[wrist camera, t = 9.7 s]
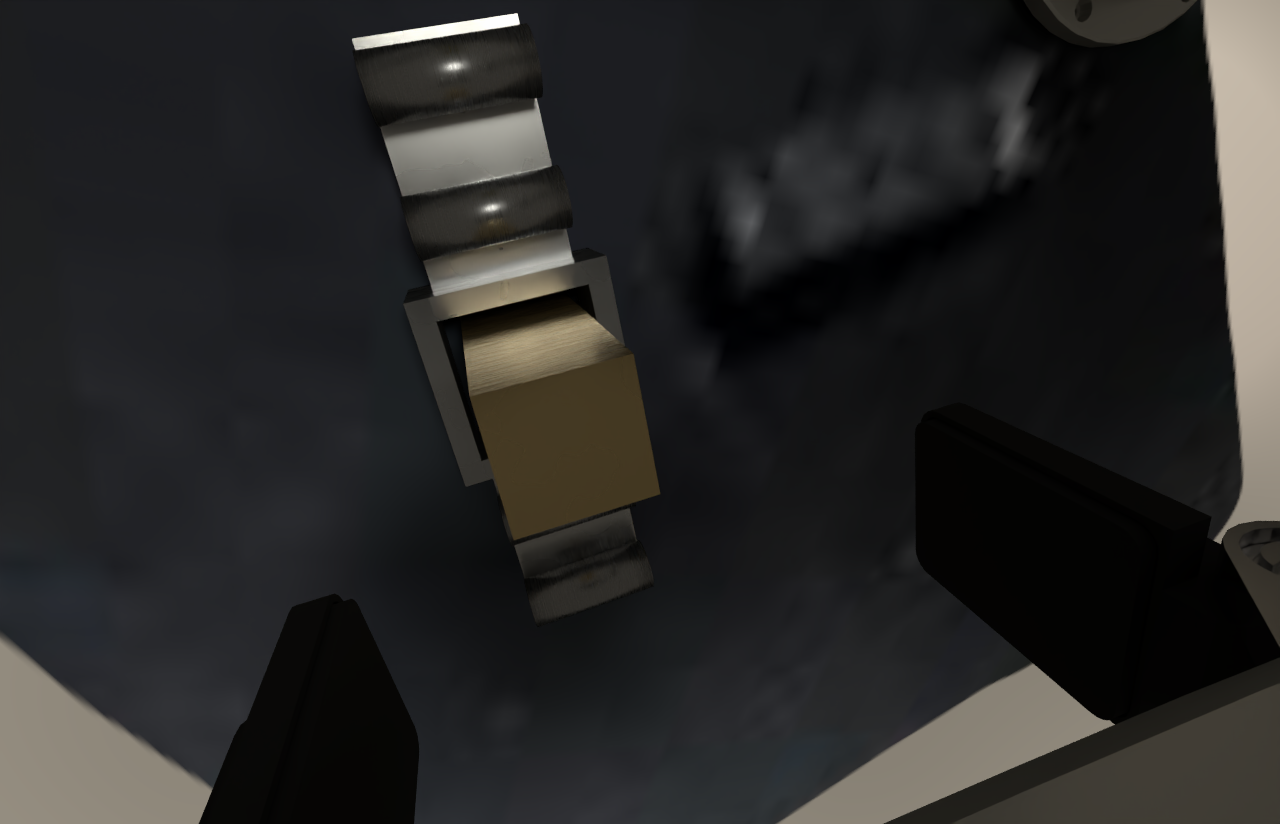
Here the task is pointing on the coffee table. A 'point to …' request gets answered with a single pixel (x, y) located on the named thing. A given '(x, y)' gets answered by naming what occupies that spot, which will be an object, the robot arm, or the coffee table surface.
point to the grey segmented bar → (493, 254)
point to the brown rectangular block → (557, 412)
